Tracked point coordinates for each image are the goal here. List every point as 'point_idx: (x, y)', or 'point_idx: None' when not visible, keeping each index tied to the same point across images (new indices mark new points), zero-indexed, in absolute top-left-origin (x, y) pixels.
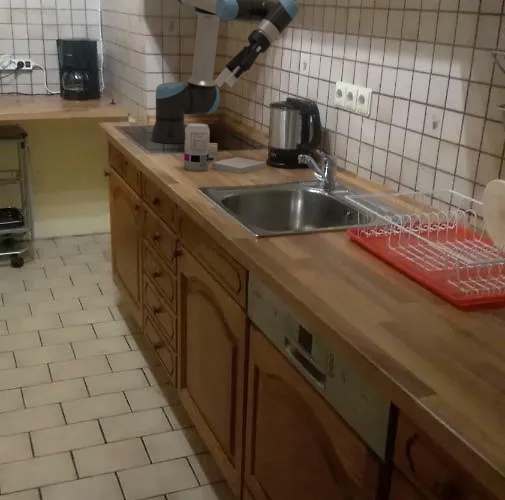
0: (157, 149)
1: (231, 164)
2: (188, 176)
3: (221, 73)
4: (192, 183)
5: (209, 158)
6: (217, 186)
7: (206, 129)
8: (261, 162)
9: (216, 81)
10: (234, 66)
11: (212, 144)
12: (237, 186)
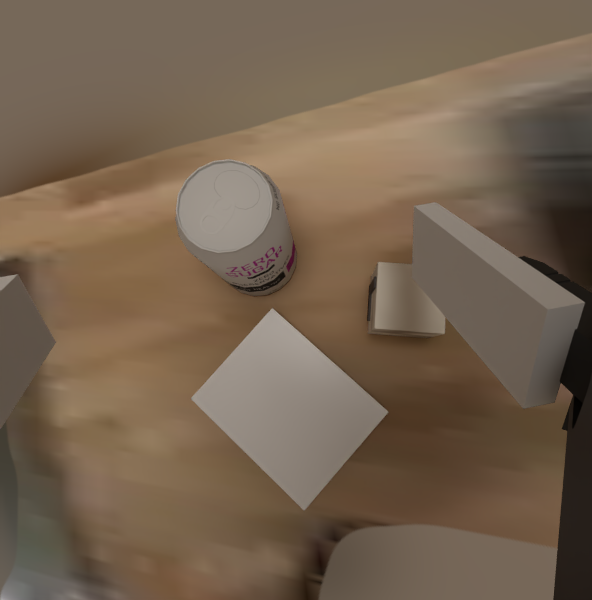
0: (574, 136)
1: (249, 372)
2: (155, 234)
3: (475, 253)
4: (72, 243)
5: (368, 305)
6: (38, 309)
7: (191, 248)
8: (299, 495)
9: (419, 226)
10: (572, 467)
11: (410, 311)
12: None
